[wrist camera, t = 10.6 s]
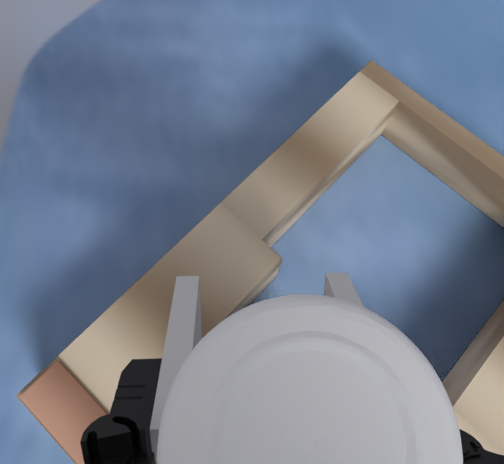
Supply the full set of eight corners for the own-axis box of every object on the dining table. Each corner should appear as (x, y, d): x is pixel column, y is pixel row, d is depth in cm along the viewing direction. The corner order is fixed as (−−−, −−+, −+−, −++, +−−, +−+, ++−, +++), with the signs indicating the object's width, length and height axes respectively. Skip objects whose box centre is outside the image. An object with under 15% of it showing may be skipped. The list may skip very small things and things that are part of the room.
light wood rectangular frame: (356, 96, 27) (372, 57, 24) (590, 272, 24) (641, 253, 21) (44, 397, 21) (13, 395, 18) (305, 689, 18) (320, 747, 15)
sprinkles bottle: (190, 384, 20) (120, 334, 7) (294, 351, 20) (398, 252, 8) (220, 504, 18) (200, 708, 6) (331, 464, 19) (536, 569, 6)
